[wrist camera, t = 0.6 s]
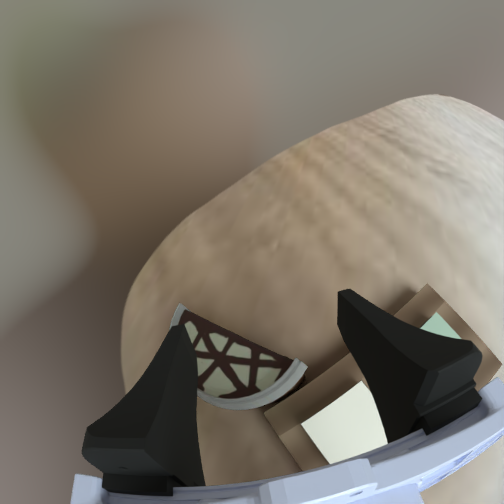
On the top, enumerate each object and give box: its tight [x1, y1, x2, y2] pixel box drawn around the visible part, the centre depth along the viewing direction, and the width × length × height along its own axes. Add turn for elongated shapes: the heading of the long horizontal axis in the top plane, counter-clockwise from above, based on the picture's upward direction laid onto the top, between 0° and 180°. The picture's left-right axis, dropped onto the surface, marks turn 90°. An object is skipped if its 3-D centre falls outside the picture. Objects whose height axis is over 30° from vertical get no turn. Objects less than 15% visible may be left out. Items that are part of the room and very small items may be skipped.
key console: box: [264, 284, 502, 471], centre depth 22 cm, size 12×20×3 cm, turn 121°
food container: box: [169, 303, 307, 410], centre depth 25 cm, size 12×6×10 cm, turn 60°
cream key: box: [301, 381, 388, 464], centre depth 20 cm, size 6×6×2 cm
